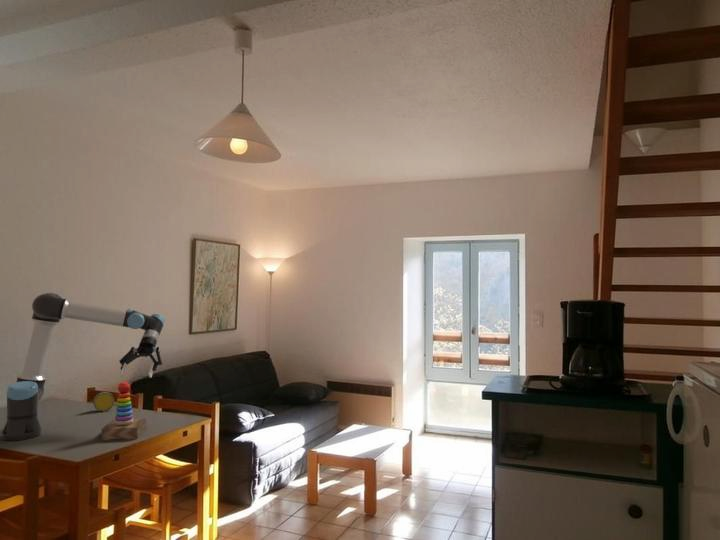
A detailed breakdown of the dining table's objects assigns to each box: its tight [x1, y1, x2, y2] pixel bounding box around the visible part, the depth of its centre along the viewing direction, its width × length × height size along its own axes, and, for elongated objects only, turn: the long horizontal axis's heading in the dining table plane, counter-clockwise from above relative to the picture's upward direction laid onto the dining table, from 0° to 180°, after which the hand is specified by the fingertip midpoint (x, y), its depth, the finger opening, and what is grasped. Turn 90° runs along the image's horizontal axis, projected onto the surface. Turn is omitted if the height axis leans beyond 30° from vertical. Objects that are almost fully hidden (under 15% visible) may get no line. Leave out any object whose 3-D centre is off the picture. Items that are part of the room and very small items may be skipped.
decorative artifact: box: [92, 391, 115, 412], centre depth 282 cm, size 10×7×10 cm
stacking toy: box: [114, 381, 134, 425], centre depth 237 cm, size 8×8×19 cm
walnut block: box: [100, 418, 147, 441], centre depth 237 cm, size 15×15×5 cm
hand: (135, 376), depth 248 cm, fingers open, 13 cm apart
